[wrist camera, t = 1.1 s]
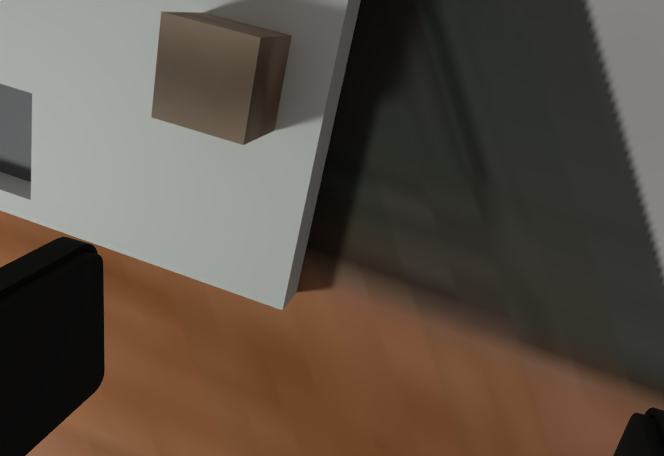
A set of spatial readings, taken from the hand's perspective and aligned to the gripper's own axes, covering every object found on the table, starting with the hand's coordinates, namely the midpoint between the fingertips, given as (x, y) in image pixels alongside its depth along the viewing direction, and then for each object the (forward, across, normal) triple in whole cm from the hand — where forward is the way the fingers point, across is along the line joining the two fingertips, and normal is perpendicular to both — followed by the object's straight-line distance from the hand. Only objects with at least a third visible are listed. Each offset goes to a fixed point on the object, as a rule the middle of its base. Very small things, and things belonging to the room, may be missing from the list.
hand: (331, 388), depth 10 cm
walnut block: (+21, +12, -1) cm, 24 cm away
